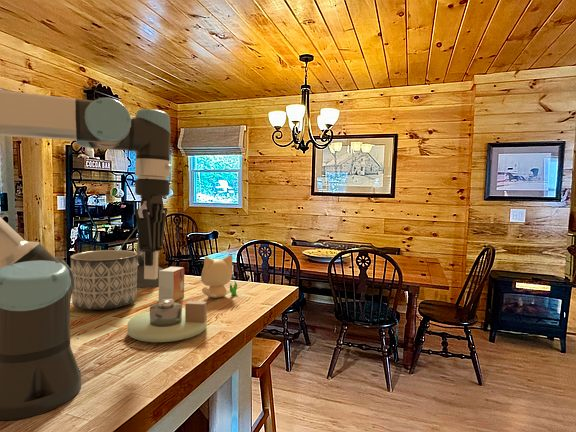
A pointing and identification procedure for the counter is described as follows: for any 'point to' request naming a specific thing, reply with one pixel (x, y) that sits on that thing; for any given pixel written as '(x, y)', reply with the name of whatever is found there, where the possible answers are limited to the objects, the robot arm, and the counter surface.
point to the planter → (104, 279)
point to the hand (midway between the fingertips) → (150, 278)
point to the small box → (171, 283)
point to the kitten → (217, 276)
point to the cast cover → (165, 313)
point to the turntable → (189, 326)
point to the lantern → (140, 270)
